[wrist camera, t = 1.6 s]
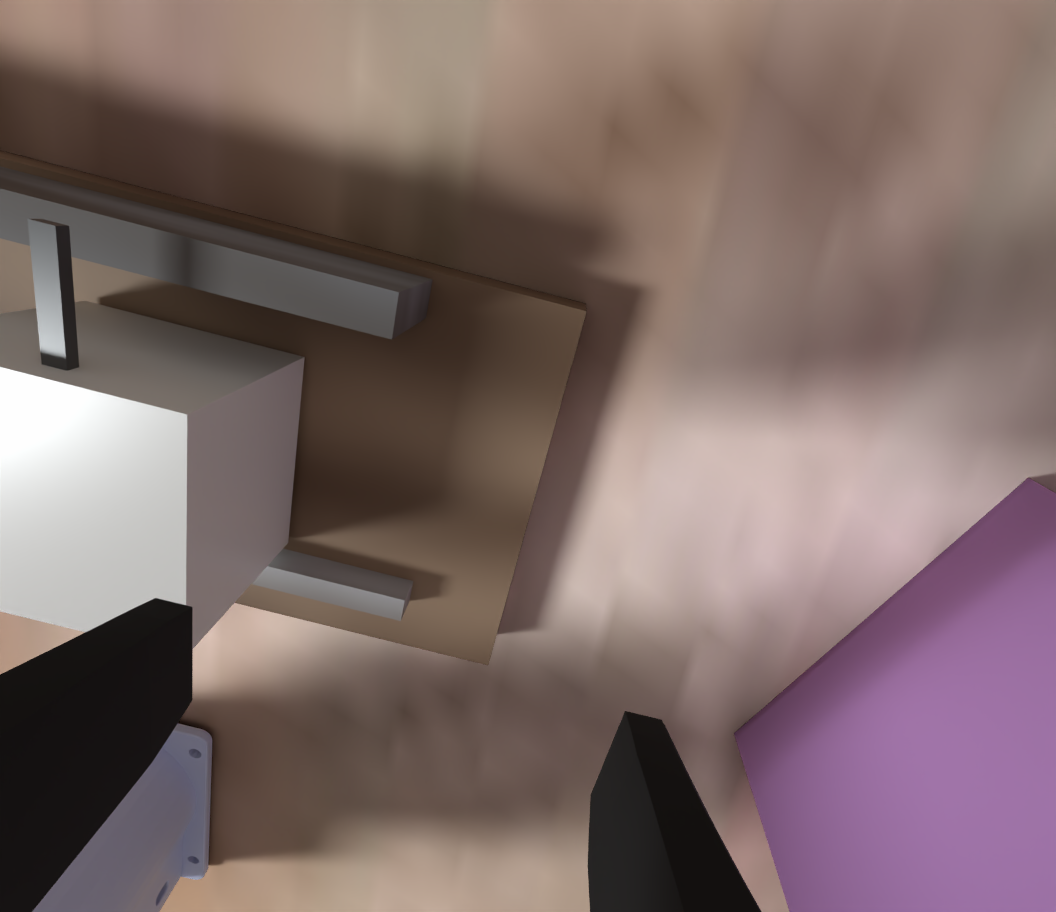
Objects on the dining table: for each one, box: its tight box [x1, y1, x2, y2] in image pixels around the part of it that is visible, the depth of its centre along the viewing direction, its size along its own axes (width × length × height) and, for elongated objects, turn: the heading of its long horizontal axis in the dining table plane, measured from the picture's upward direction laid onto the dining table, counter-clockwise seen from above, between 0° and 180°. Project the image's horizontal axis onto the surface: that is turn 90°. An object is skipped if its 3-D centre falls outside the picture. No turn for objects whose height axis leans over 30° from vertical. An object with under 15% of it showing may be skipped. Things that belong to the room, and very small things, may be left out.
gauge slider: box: [0, 219, 305, 649], centre depth 13 cm, size 9×6×5 cm
